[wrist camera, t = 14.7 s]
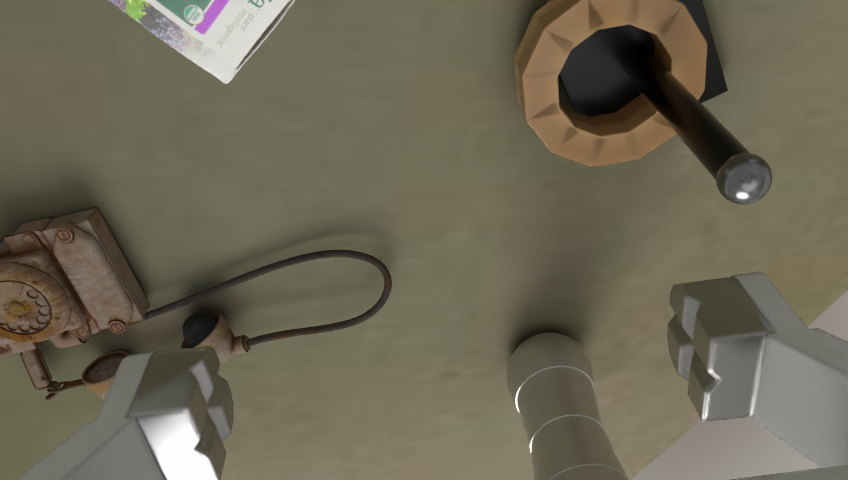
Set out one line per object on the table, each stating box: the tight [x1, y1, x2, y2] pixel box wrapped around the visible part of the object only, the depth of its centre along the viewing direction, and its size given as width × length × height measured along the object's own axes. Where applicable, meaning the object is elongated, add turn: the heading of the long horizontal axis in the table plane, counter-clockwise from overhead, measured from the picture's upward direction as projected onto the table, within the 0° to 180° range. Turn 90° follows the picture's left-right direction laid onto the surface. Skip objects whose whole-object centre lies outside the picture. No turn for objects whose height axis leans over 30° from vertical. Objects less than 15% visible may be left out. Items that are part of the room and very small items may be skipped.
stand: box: [559, 0, 772, 204], centre depth 37 cm, size 9×9×17 cm
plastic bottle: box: [507, 332, 629, 480], centre depth 49 cm, size 6×7×20 cm
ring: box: [514, 0, 707, 167], centre depth 42 cm, size 11×11×3 cm
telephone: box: [0, 208, 392, 400], centre depth 50 cm, size 15×33×4 cm, turn 104°
